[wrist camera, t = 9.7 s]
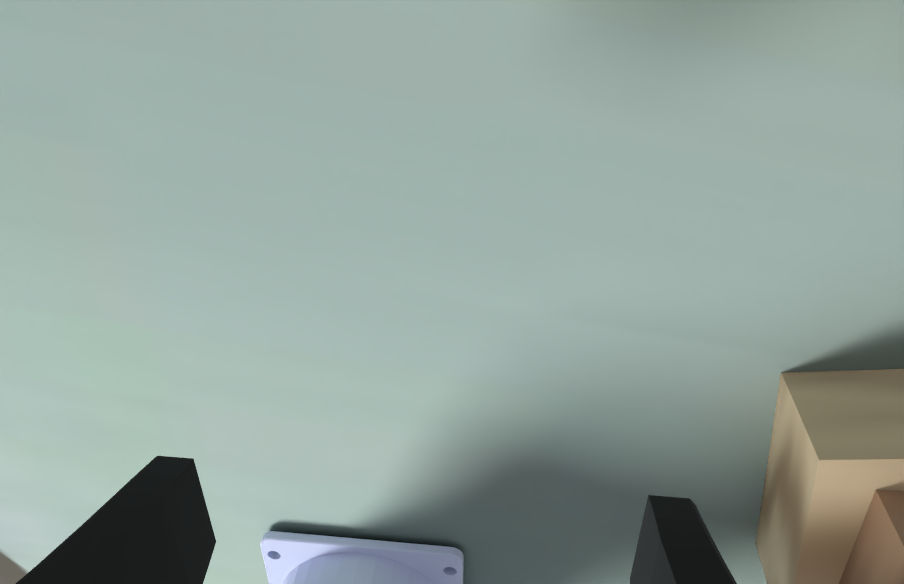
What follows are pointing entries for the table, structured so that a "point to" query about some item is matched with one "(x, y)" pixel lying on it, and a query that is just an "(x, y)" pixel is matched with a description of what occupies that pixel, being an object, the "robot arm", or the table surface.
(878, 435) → the oak block
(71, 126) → the table surface
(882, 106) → the table surface
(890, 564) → the walnut cube
